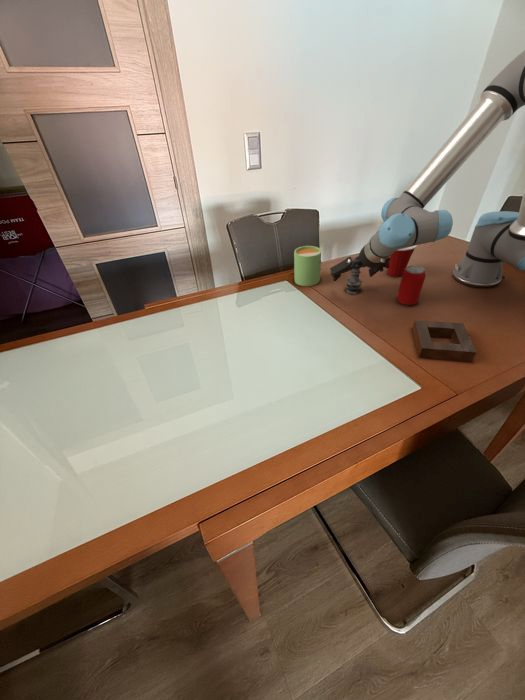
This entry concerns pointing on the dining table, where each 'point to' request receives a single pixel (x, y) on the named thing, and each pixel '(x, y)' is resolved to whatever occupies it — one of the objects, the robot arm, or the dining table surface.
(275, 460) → the dining table surface
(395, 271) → the plastic cup
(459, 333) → the socket base
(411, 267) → the beverage can
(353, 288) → the grey tall piece
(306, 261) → the mug
